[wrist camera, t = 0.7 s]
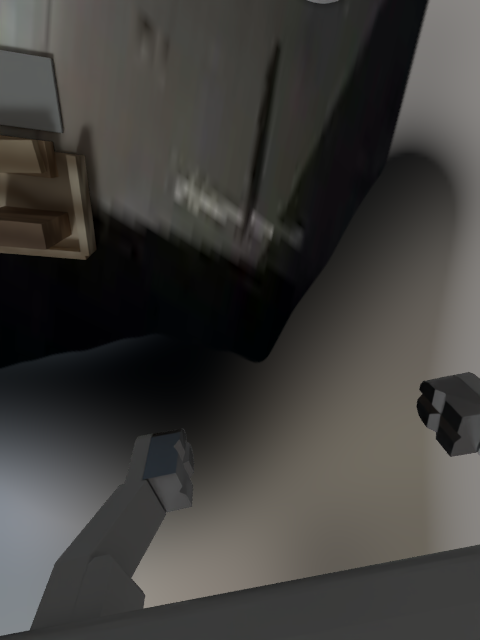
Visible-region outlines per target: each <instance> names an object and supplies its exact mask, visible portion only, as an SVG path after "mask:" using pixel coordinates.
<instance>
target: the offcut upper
mask: <svg viewBox="0 0 480 640" xmlns="http://www.w3.org/2000/svg"><path fill="white" fill-rule="evenodd" d="M45 172H46V169H45V165H44V162H43V158H42V155H41V151H40V148H39V144H38V141H36V140H0V173H45Z"/></svg>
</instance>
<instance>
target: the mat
mask: <svg viewBox="0 0 480 640" xmlns="http://www.w3.org/2000/svg"><path fill="white" fill-rule="evenodd" d="M0 125H7V126H15V127H22V128H29V129H37V130H44V131H52V132H59V133H63V127H62V120H61V114H60V107H59V101H58V94H57V87H56V81H55V74H54V68H53V61H52V59H51V58H46V57H40V56H34V55H28V54H22V53H16V52H10V51H4V50H0Z"/></svg>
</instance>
